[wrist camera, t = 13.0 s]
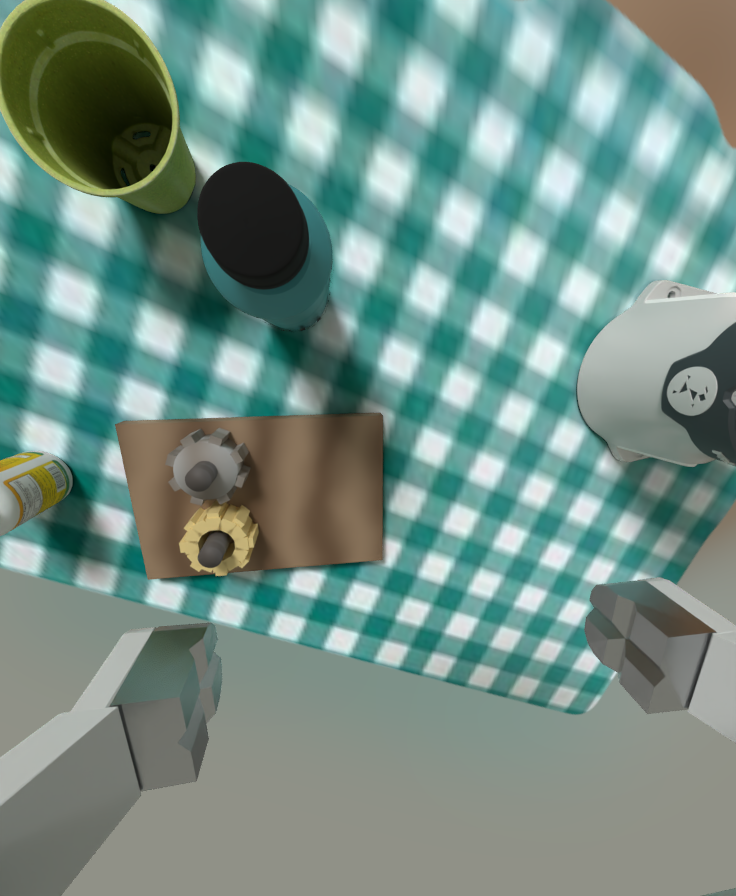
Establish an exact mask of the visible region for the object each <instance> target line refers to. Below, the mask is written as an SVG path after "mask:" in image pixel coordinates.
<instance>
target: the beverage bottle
mask: <svg viewBox="0 0 736 896" xmlns="http://www.w3.org/2000/svg"><path fill="white" fill-rule="evenodd" d="M197 217H198V225H199V230H200V233H201V251H202V257H203V261H204V265H205V267H206V270H207V273H208V275H209V277H210V279H211V281H212V282H213V284H214V285H215V287H216V288H217V290H218V291H219V292H220V293H221V295H222V296H223V297H224V298H225V299H226V300H227V301H228V302H230V303H231V304H232V305H233V306H235V307H236V308H238V309H239V310H241V311H243V312H245V313H247V314H249V315H251V316H254V317H257V318H262V319H264V320H265V321H267V322H269V323H271V324H273V325H275V326H277V327H280V328H283V329H287V330H289V331H290V330H301V331H302V330H305V328H307V327H310V326H311V325H312V324H314V323H315V322H316V321H317V322H318V321H319V320H320V319H321V318H320V316H321V315H322V313H323V311H324V309H325V307H326V303H327V297H328V290H329V286H330V285H329V282H330V273H331V271H332V270H331V269H332V244H331V239H330V235H329V232H328V229H327V226H326V224H325V222H324V220H323V217H322V216H321V214H320V213H319V211H318V209H317V208H316V207H315V205H314V204H313V203H312V202H311V201H310V200H309V199H308V198H307V197H306V196H305V195H304V194H303V193H302V192H300V191H299V190H298V189H296V188H294V187H293V186H291V185H289V184H287V183H286V181H285V180H284V179H282V178H281V177H280V176H279V175H278V174H276V173H275V172H274V171H272V170H270V169H268V168H266V167H264V166H262V165H259V164H256V163H251V162H237V163H232V164H229V165H226V166H224V167H222V168H220V169H219V170H218V171H216V172H215V173H214V174H213V175H212V176H211V177H210V178H209V179H208V181H207V182H206V184H205V185H204V187H203V189H202V192H201V194H200V198H199V202H198V216H197ZM332 279H333V278H332ZM330 283H331V282H330ZM329 292H330V291H329ZM329 298H330V296H329ZM328 302H329V301H328ZM327 306H328V305H327ZM326 309H327V308H326ZM325 312H326V310H325ZM265 323H266V322H265ZM313 326H314V325H313ZM313 326H312V327H313ZM275 328H276V327H275ZM281 330H282V329H281ZM283 331H284V330H283ZM285 331H286V330H285ZM291 332H292V331H291Z"/></svg>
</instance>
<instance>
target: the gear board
mask: <svg viewBox="0 0 736 896" xmlns="http://www.w3.org/2000/svg"><path fill="white" fill-rule="evenodd" d="M115 426H116V431H117V436H118V440H119V445H120V450H121V454H122V459H123V464H124V469H125V473H126V478H127V483H128V488H129V492H130V497H131V502H132V507H133V511H134V516H135V521H136V525H137V530H138V535H139V540H140V544H141V549H142V554H143V559H144V563H145V568H146V573H147V577H148V579H160V578H172V577H184V576H196V575H208V574H215V573H213V570H212V572H208V571H206V570H203V569H201V570H200V571H199V572H198V571H197V570H195V569H194V568H192V567H191V566H190V565H191V563H192V562H191V561H190V559H189V558H188V557H187V555H188V554H187V555H186V553H181V552H180V546H179V542H180V541H181V540H182V538H183V537H184V535H185V534H186V532H187V531H186V530H185V529H184V527H185V526H186V524H187V523H188V522H189V520H190V519H191V518H192V516H193V515H194V514H195V513H196V511H197V510H198V509H199V508H200V507H201V508H202V509H204V510H205V509H207V508H209V507H210V506H212V505H213V503H214V502H215V501H218V503H219V504H222V503H225V502H226V504H229V506H230V504H231V505H234V506H236V507H240V506H241V505H243V506H244V507H246V508H247V509H248V510H250V513H249V517H250V518H251V519H252V522H253V524H258V530H259V533H258V536H257V539H256V542H255V546H254V547H253V550H252V553H251V556H250V559H249V562H248V563H247V564H246V565H245V566H244V567H243V568H240V567H239V566H237V567H236V568H234V569H232V570H231V571H228V573H232V572H244V571H256V570H268V569H280V568H292V567H304V566H316V565H328V564H340V563H352V562H364V561H376V560H382V534H383V415H382V414H381V413H354V414H324V415H293V416H263V417H232V418H202V419H171V420H141V421H123V422H120V423H118V424H115ZM208 533H209V536H208V538H207V540H206V541H205V543H204V545H203V547H202V548H201V550H200V552H199V554H198V561H199V563H200V564H201V565H202V566H204V567H206V568H214V567H216V566H218V565H219V564H220V563H221V561H222V559H223V556H224V554H225V552H226V550H227V548H228V545H229V544H231V543H233V542H234V540H233V538H232V537H231V536H230V535H229V534H228V533H226V532H223V531H221V530H213V531H208Z"/></svg>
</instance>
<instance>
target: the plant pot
mask: <svg viewBox="0 0 736 896" xmlns="http://www.w3.org/2000/svg"><path fill="white" fill-rule="evenodd" d="M0 110H1V113H2V115H3V117H4V119H5V121H6V123H7V125H8V127H9V129H10V131H11V133H12V134H13V136H14V137H15V139H16V140H17V142H18V143H19V145H20V146H21V147H22V148H23V150H24V151H25V152H26V153H27V154H28V155H29V157H30V158H31V159H32V160H33V161H34V162H35V163H36V164H37V165H39V166H40V167H41V168H42V169H43V170H44V171H46V172H47V173H48V174H50V175H51V176H52V177H54V178H55V179H57V180H58V181H60V182H62V183H64V184H65V185H67V186H69V187H71V188H73V189H76V190H78V191H81V192H83V193H86V194H90V195H94V196H100V197H118V198H120V199H122V200H125V201H127V202H129V203H131V204H133V205H135V206H137V207H139V208H142V209H144V210H146V211H149V212H153V213H158V214H166V213H172V212H175V211H177V210H179V209H180V208H182V207H183V206H184V205H185V204H186V203H187V202H188V200H189V198H190V196H191V193H192V191H193V188H194V186H195V180H196V174H195V166H194V162H193V160H192V157H191V154H190V152H189V149H188V147H187V144H186V142H185V139H184V137H183V134H182V132H181V129H180V126H179V125H180V116H179V106H178V100H177V95H176V92H175V88H174V85H173V81H172V79H171V76H170V74H169V71H168V69H167V67H166V65H165V63H164V61H163V59H162V57H161V55H160V53H159V52H158V50H157V49H156V47H155V46H154V44H153V43H152V41H151V40H150V38H149V37H148V36H147V35H146V33H145V32H144V31H143V30H142V29H141V28H140V27H139V26H138V25H137V24H136V23H135V22H134V21H133V20H132V19H131V18H130V17H128V16H127V15H126V14H125V13H124V12H122V11H121V10H120V9H118V8H117V7H115V6H114V5H112V4H110V3H108V2H106V1H104V0H25V1H23V2H22V3H21V4H19V5H18V6H17V7H16V8H15V10H13V12H12V13H10V14H9V16H8V17H7V19H6V20H5V21H4V23H3V25H2V27H1V29H0ZM141 131H147V132H150V133H151V135H150V136H148V137H141V138H138V139H136V140H135V139H133V135H134V134H135V133H137V132H141ZM151 164H153V165H155V166H156V168H155V169H154V170H153V171H151V170H150V165H151ZM121 168H124V170H125V173H126V177H127V179H128V182H129V183H130V185H131V186H126V184H125V182H124V180H123V178H122V176H121Z"/></svg>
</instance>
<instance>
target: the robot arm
mask: <svg viewBox="0 0 736 896" xmlns="http://www.w3.org/2000/svg"><path fill="white" fill-rule="evenodd" d="M668 294H669V297H668ZM577 396H578V403H579V407H580V411H581V413H582V416H583V418H584V419H585V421H586V423H587V424H588V425H589V427H590V428H591V429H592V430H593V431H594V432H596V433H597V434H598V435H600V436H601V437H602V438H603V439H605V440H606V442H607V443H608V445H609V448H610V450H611V452H612V454H613V456H614V457H615V458H616V459H617V460H619V461H623V462H633V461H636V460H640V459H644V458H648V457H653V458H657V459H661V460H664V461H668V462H671V463H675V464H679V465H683V466H688V467H695V466H696V465H697V464H703V463H707V462H710V461H713V460H716V459H717V460H720V461H723V462H726V463H727V464H730V465H733V466H736V293H719V294H717V293H713V292H709V291H706V290H702V289H698V288H694V287H691V286H687V285H683V284H680V283H676V282H672V281H668V280H659V281H654V282H652V283H650V284H649V285H648V286H647V287H646V288H645V289H644V291H643V292H642V293H641V294H640V296H639V297H638V298H637V300H636V301H635V303H634V304H633V305H632V306H631V307H630V308H629V309H628V310H626V311H625V312H623V313H622V314H620V315H619V316H618V317H616V318H615V319H613V320H612V321H611V322H610V323H609V324H607V325H606V326H605V327H604V328H603V329H602V330H601V332H600V333H599V334H598V335H597V336H596V338H595V339H594V341H593V342H592V343H591V345H590V347H589V349H588V350H587V352H586V354H585V357H584V359H583V362H582V365H581V368H580V372H579V376H578V383H577ZM590 602H591V604H592V605H593V607H594V609H593V610H592V611H591V612H590V613H589V614H588V616H587V617H586V622H585V629H584V630H585V634H586V638H587V642H588V644H589V646H590V648H591V649H592V651H593V653H594V654H595V656H596V657H597V658H598V659H599V660H600V661H601V662H602V664H604V665H606V666H607V667H609V668H611V669H613V670H614V671H616V672H618V678H619V683H620V684H621V685H622V686H623V687H624V688H625V690H626V691H627V692H628V693H629V694H630V695H631V696H632V697H633V699H634V700H635V701H636V702H637V703H638V704H639V705H640V706H641V708H642V709H643V710H644V711H645V712H646V713H647V714H651V713H659V712H669V711H677V710H686V709H688V713H690V714H692V715H693V716H695V717H696V718H698V719H699V720H701V721H702V722H704V723H705V724H707V725H708V726H710V727H711V728H713V729H714V730H716V731H718V732H719V733H720V734H722V735H724V736H725V737H727V738H728V739H730V740H731V741H733V742H734V743H736V625H735V624H733V623H732V622H730V621H729V620H727V619H726V618H724V617H723V616H721V615H720V614H718V613H717V612H715V611H714V610H712V609H711V608H709V607H708V606H706V605H705V604H703V603H702V602H700V601H699V600H697V599H696V598H694V597H693V596H692V595H690V594H689V593H687V592H686V591H684V590H683V589H681V588H680V587H678V586H677V585H675V584H674V583H672V582H671V581H669V580H666V579H663V578H660V577H658V578H650V579H642V580H637V581H628V582H619V583H609V584H600V585H596V586H595V587H594V588H593V590H592V591H591V596H590ZM217 640H218V638H217V633H216V628H215V625H214V624H213V623H202V624H188V625H175V626H161V627H158V628H156V627H155V628H141V629H131V630H129V631H128V632H126V633H125V634H123V635H122V637H121V638H120V640H119V641H118V642H117V644H116V645H115V647H114V648H113V650H112V651H111V653H110V654H109V656H108V657H107V659H106V660H105V662H104V663H103V665H102V666H101V668H100V669H99V671H98V672H97V673H96V675H95V677H94V678H93V680H92V681H91V682H90V684H89V685H88V687H87V688H86V690H85V691H84V693H83V694H82V695H81V697H80V698H79V700H78V701H77V703H76V704H75V706H74V707H73V709H72V710H71V712H67V713H60V714H59V715H57V716H56V717H55V718H53V719H52V720H50V721H49V722H48V723H47V724H45V725H44V726H42V727H41V728H40V729H38V730H37V731H36V732H34V733H33V734H32V735H30V736H29V737H27V738H26V739H25V740H23V741H22V742H21V743H19V744H18V745H17V746H15V747H14V748H13V749H11V750H10V751H8V752H7V753H6V754H5V755H3V756H2V757H0V896H61V895H62V894H63V893H64V891H65V890H66V889H67V888H68V886H69V885H70V884H71V883H72V881H73V880H74V879H75V878H76V876H77V875H78V874H79V873H80V871H81V870H82V869H83V868H84V866H85V865H86V864H87V863H88V861H89V860H90V859H91V857H92V856H93V855H94V854H95V853H96V851H97V850H98V849H99V848H100V846H101V845H102V843H103V842H104V841H105V840H106V839H107V837H108V836H109V835H110V834H111V832H112V831H113V830H114V829H115V827H116V826H117V825H118V824H119V822H120V821H121V820H122V819H123V817H124V816H125V815H126V814H127V812H128V811H129V810H130V809H131V807H132V806H133V805H134V804H135V802H136V801H137V800H138V799H139V797H140V796H141V791H146V790H152V789H157V788H163V787H168V786H174V785H179V784H185V783H190V782H196V781H197V778H198V775H199V771H200V767H201V764H202V761H203V757H204V754H205V750H206V746H207V743H208V739H209V738H208V732H207V726H206V724H207V722H208V721H209V720H210V719H211V718H212V717H213V716H214V715H215V714H216V711H217V707H218V702H219V699H220V693H221V685H222V664H221V658H220V657H219V656H218V655H217V654H216V653H215V652H214V649H215V646H216V643H217ZM702 896H736V888H734V889H729V890H725V891H721V892H716V893H711V894H707V895H702Z"/></svg>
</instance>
